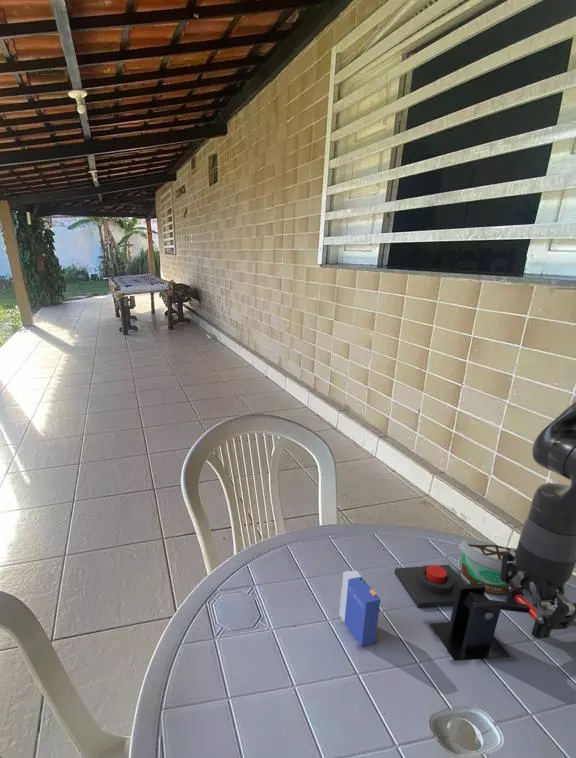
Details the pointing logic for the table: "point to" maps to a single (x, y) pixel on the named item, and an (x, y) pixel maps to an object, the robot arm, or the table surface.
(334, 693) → the table surface
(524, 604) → the lever
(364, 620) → the walkman
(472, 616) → the switch bracket
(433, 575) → the stop button
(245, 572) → the table surface
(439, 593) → the stop block
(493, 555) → the food container
